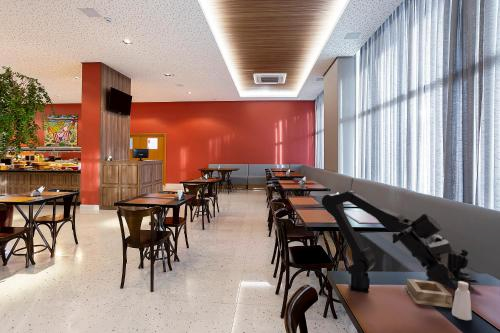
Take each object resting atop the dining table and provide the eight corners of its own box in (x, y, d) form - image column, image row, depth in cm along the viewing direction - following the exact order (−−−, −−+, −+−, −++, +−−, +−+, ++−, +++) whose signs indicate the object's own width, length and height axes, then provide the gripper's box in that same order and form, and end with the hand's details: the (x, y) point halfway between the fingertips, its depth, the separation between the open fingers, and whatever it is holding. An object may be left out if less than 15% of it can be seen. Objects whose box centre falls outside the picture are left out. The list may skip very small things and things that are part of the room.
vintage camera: (479, 293, 110) (484, 242, 110) (435, 287, 113) (439, 237, 113) (466, 283, 120) (470, 236, 119) (425, 277, 123) (429, 232, 122)
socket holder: (415, 303, 100) (416, 292, 100) (404, 288, 112) (405, 278, 112) (454, 307, 98) (454, 296, 98) (438, 291, 110) (439, 281, 109)
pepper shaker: (448, 314, 93) (450, 281, 93) (454, 309, 97) (456, 277, 96) (468, 322, 89) (470, 288, 89) (474, 317, 92) (476, 283, 92)
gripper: (441, 238, 87) (484, 281, 83) (431, 225, 104) (467, 260, 100) (410, 259, 90) (451, 301, 86) (405, 243, 107) (439, 278, 103)
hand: (452, 283), depth 94 cm, fingers open, 9 cm apart
